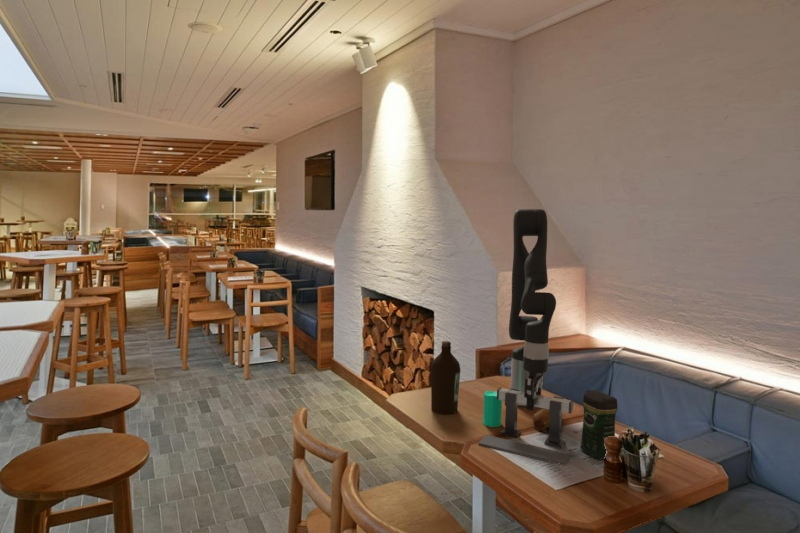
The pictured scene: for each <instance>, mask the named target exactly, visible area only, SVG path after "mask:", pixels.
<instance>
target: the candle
mask: <svg viewBox="0 0 800 533" xmlns="http://www.w3.org/2000/svg"><path fill="white" fill-rule="evenodd" d="M502 409H503V400H497V391H494V388H493V389H492V390H487V391H484V393H483V416H482V417H483V418H482V422H483V425H485V426H486V427H491V428H497V427H501V425H502V413H503V412H502Z"/></svg>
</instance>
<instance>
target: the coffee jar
mask: <svg viewBox="0 0 800 533" xmlns="http://www.w3.org/2000/svg"><path fill="white" fill-rule="evenodd" d="M582 405H583V406H582V407H583V418H582V419H583V420H582V421H583V422H582V430H581V431H582V432H581V439H580V449H581V450H582V451H583V452H584V453H585V454H587V455H589V456H591V457H593V458H595V459H600V460H601V459H602V460H605V459H604V457H605V454H606V449H605V446H604V439H605V438H606V437H608V436H615V434H616V431H615V429H616V427H615V426H616V415H617V412H618V398H616V397H615V396H611V395H609V394H607V393H605V392H602V391H600V390H598V389H589V390H586V391H585V392H584V394H583V399H582ZM615 437H616V436H615Z"/></svg>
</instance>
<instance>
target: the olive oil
mask: <svg viewBox="0 0 800 533" xmlns="http://www.w3.org/2000/svg"><path fill="white" fill-rule="evenodd" d="M451 344H452V341H446V340H443V341H441V349H440V350H441V352H440V353H439V354H438V355H437V356H436V357H435V358H434V359H433V360H432V362H431V364H430V365H431V366H430V387H431V388H430V390H431V394H430V395H431V401H430V402H431V404H430V405H431V411H432V412H434V413H435V412H436V414H439V415H453V414H456V413H457V412H458V406H459V405H458V404H459V392H460V380H461V365H460V361H458V359H457V357H455V356H454V354H452V352H451V351H452V350H451V349H452V346H451Z"/></svg>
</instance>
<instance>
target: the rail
mask: <svg viewBox="0 0 800 533" xmlns="http://www.w3.org/2000/svg"><path fill="white" fill-rule="evenodd" d="M496 392H497V400H502V402H503V401H504V402H505V393H512V394H515V403H518V404H524V405H526V404H527V398H525V397H524V393H525V392H521V391H515V390H510V388H508V389H507V388H504V387H499V388H498V389H497V390H496ZM529 394H531V393H529ZM550 401H555V402H560V412H562V413H567V414H572V412H573V410H574V409H573V408H574V400H572V399H571V400H569V399H565V398H564V399H560V398H554V396H548V395H543V394H541V395H537V394H535V398H534V408H539V409H549V406H550Z"/></svg>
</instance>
